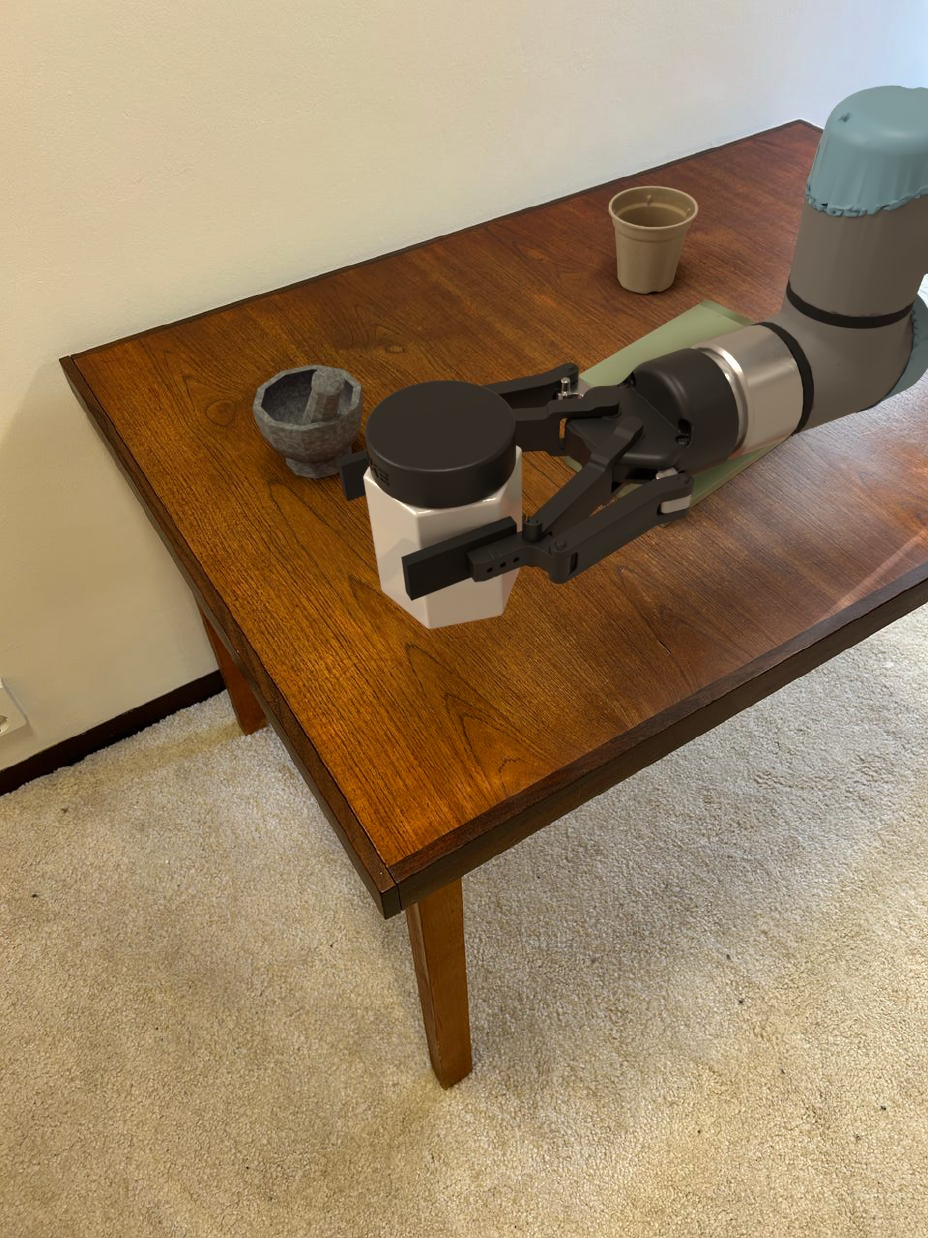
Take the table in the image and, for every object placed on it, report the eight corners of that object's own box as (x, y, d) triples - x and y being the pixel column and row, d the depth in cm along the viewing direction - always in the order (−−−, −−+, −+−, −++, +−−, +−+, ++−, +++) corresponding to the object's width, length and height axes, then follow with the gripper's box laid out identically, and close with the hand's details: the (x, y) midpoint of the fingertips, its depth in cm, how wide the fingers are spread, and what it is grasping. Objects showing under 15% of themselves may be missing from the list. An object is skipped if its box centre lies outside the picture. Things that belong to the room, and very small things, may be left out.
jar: (414, 520, 64) (396, 364, 55) (533, 542, 62) (535, 385, 53) (364, 617, 58) (336, 462, 49) (493, 645, 57) (488, 489, 48)
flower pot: (685, 306, 105) (696, 229, 99) (599, 300, 107) (604, 224, 100) (689, 262, 111) (700, 187, 105) (607, 257, 113) (613, 183, 106)
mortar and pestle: (251, 450, 92) (222, 340, 83) (336, 412, 95) (317, 303, 86) (308, 513, 86) (283, 402, 77) (397, 471, 89) (383, 359, 80)
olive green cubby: (794, 433, 90) (816, 350, 83) (663, 528, 83) (676, 445, 76) (693, 380, 96) (707, 298, 90) (563, 463, 89) (567, 381, 82)
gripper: (805, 553, 56) (460, 702, 50) (610, 370, 69) (316, 471, 63) (837, 452, 51) (452, 605, 45) (618, 273, 64) (296, 374, 58)
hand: (373, 527), depth 54 cm, fingers closed on jar, 8 cm apart
